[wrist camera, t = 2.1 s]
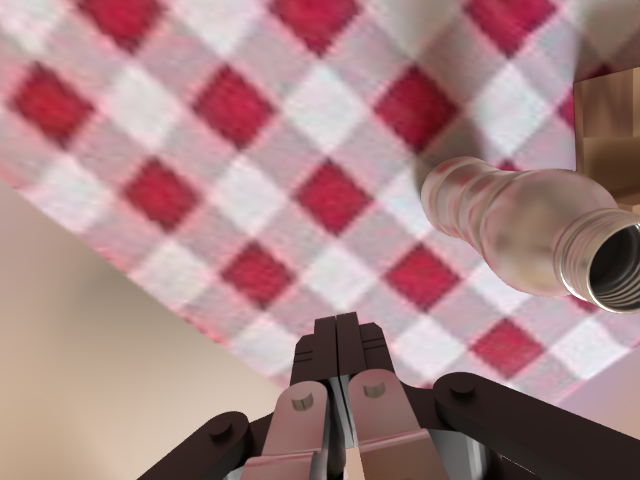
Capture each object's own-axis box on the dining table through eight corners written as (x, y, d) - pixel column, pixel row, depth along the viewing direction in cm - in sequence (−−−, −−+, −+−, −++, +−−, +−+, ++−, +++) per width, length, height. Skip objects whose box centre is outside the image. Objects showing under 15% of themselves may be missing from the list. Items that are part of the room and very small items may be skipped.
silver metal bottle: (483, 147, 31) (736, 155, 12) (490, 222, 33) (721, 333, 14) (409, 163, 32) (539, 195, 12) (420, 236, 33) (548, 363, 14)
